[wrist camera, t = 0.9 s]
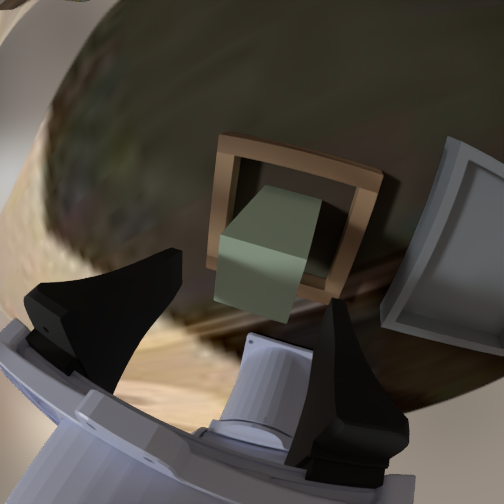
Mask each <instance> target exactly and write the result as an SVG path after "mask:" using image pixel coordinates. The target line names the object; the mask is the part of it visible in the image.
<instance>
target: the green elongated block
mask: <svg viewBox="0 0 504 504" xmlns="http://www.w3.org/2000/svg"><path fill="white" fill-rule="evenodd" d="M321 203H322V200H320V199H317V198H313V197H310V196H306V195H302V194H299V193H295V192H291V191H288V190H284V189H280V188H276V187H272V186H268V185H265V186H264V187H263V188H262V189H261V190H260V191H259V192H258V194H257V195H256V196H255V197H254V198H253V199H252V200H251V201H250V202H249V203H248V204H247V206H246V207H245V208H244V209H243V210H242V211H241V212H240V213H239V214H238V215H237V217H236V218H235V219H234V220H233V221H232V222H231V223H230V224H229V225H228V226H227V228H226V229H225V230H224V231H223V232H222V233H221V234H220V242H219V251H218V261H217V271H216V281H215V292H214V300H215V301H218V302H220V303H223V304H226V305H229V306H232V307H235V308H238V309H241V310H244V311H247V312H250V313H253V314H256V315H260V316H263V317H266V318H269V319H272V320H275V321H279V322H282V323H285V324H287V321H288V318H289V315H290V312H291V309H292V306H293V303H294V300H295V297H296V293H297V290H298V287H299V284H300V281H301V278H302V274H303V271H304V268H305V265H306V261H307V258H308V254H309V250H310V247H311V243H312V239H313V235H314V231H315V227H316V223H317V219H318V215H319V211H320V207H321Z"/></svg>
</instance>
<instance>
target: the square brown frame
mask: <svg viewBox="0 0 504 504" xmlns="http://www.w3.org/2000/svg"><path fill="white" fill-rule="evenodd" d="M241 157H245V158H249V159H254V160H258V161H263V162H267V163H271V164H276V165H280V166H284V167H288V168H292V169H296V170H300V171H303V172H307V173H311V174H315V175H318V176H322V177H325V178H329V179H332V180H336V181H339V182H343V183H346V184H349V185H353V186H356V187H357V188H356V192H355V195H354V198H353V201H352V205H351V208H350V211H349V214H348V217H347V221H346V224H345V227H344V230H343V233H342V236H341V239H340V242H339V245H338V248H337V250H336V253H335V256H334V259H333V262H332V265H331V267H330V270H329V273H328V276H327V278H326V279H324V278H320V277H317V276H314V275H310V274H307V273H304V272H303V274H302V278H301V281H300V284H299V287H298V290H297V293H296V296H299V297H302V298H305V299H309V300H312V301H315V302H319V303H322V304H326V305H329V303H330V300H331V298H332V297H334V298H337V299H338V298H339V296H340V294H341V291H342V289H343V286H344V284H345V282H346V279H347V277H348V274H349V272H350V269H351V267H352V264H353V262H354V259H355V257H356V254H357V252H358V249H359V246H360V244H361V241H362V238H363V236H364V233H365V230H366V227H367V224H368V222H369V219H370V216H371V213H372V210H373V207H374V204H375V201H376V198H377V195H378V192H379V189H380V185H381V182H382V179H383V176H384V175H383V173H382V171H381V170H379V169H376V168H373V167H370V166H367V165H364V164H361V163H358V162H354V161H351V160H348V159H344V158H341V157H338V156H334V155H330V154H327V153H323V152H319V151H316V150H312V149H308V148H304V147H300V146H296V145H291V144H287V143H283V142H278V141H274V140H269V139H264V138H260V137H255V136H249V135H244V134H239V133H233V132H225V133H222V134H219V141H218V149H217V157H216V166H215V175H214V184H213V194H212V204H211V214H210V225H209V236H208V248H207V261H206V268H209V269H212V270H215V271H217V261H218V251H219V242H220V234H221V233H222V232H223V231H224V230H225V229H226V228H227V226H228V225H229V224H230V223H231V222H232V219H233V212H234V205H235V197H236V190H237V183H238V176H239V169H240V162H241Z"/></svg>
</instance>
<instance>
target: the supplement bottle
mask: <svg viewBox="0 0 504 504" xmlns="http://www.w3.org/2000/svg"><path fill="white" fill-rule="evenodd" d="M67 1H76V2H85V1H89V0H67Z"/></svg>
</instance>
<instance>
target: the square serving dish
mask: <svg viewBox="0 0 504 504" xmlns="http://www.w3.org/2000/svg"><path fill="white" fill-rule="evenodd" d="M24 1H26V0H0V10H12V9H14V8H15V7H17V6H18V5H20V4H21V3H23V2H24Z"/></svg>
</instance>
